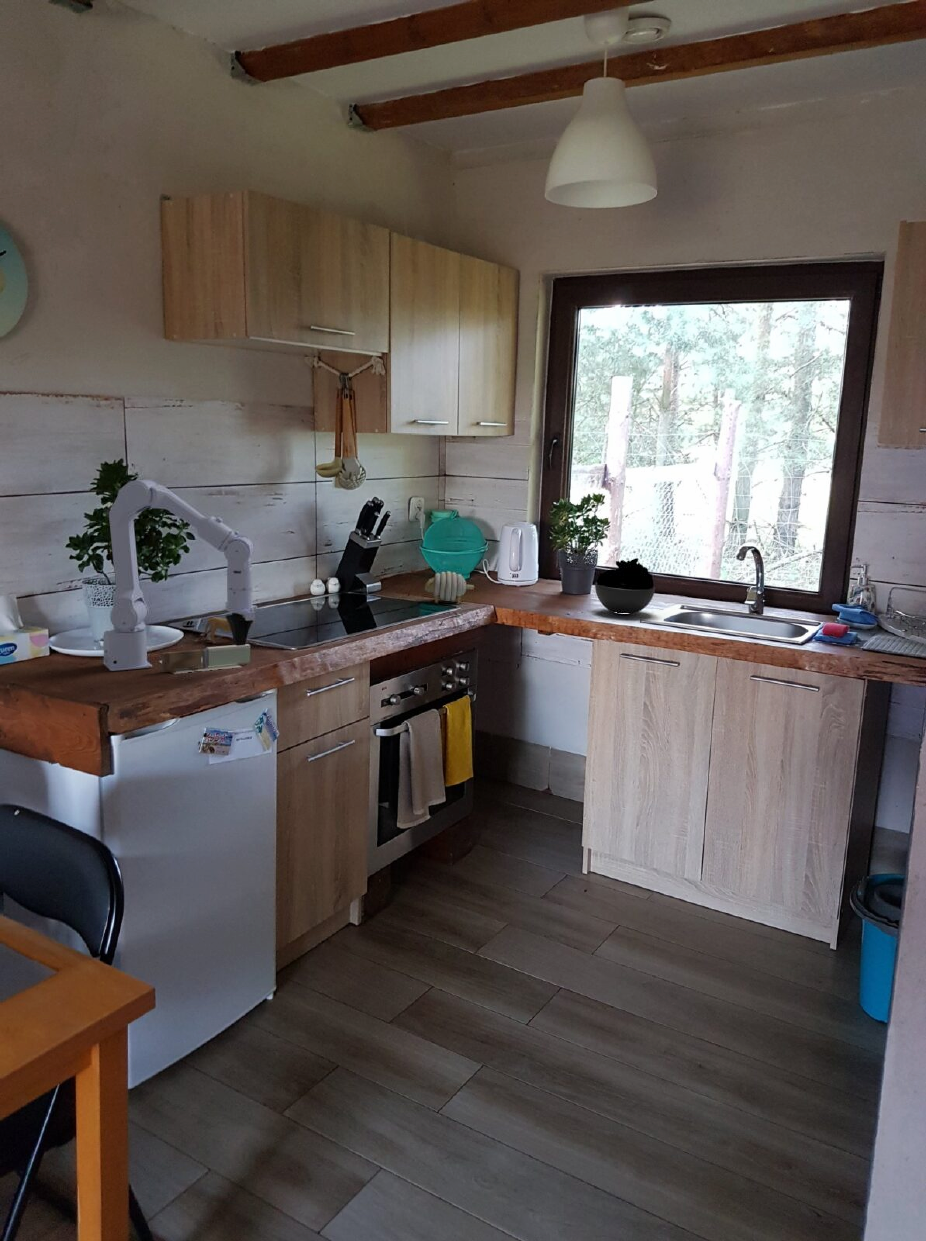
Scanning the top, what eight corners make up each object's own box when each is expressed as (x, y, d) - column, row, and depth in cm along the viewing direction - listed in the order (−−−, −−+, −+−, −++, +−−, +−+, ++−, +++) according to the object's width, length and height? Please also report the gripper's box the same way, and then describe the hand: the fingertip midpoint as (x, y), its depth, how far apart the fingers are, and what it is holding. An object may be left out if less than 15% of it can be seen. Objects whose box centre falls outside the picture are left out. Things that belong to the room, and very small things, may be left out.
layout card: (174, 674, 218) (174, 673, 218) (159, 661, 229) (159, 660, 229) (241, 667, 227) (241, 666, 227) (223, 655, 237) (223, 655, 237)
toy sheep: (422, 599, 330) (424, 568, 328) (470, 600, 332) (472, 569, 330) (425, 605, 320) (427, 573, 318) (475, 606, 322) (476, 574, 320)
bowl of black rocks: (617, 621, 306) (621, 564, 302) (581, 610, 323) (585, 555, 320) (665, 618, 316) (670, 562, 312) (627, 607, 333) (632, 554, 329)
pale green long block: (203, 667, 223) (203, 649, 222) (201, 665, 225) (201, 647, 224) (250, 662, 229) (250, 645, 229) (247, 661, 231) (247, 643, 230)
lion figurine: (255, 641, 255) (255, 608, 254) (251, 645, 250) (251, 612, 248) (200, 639, 255) (200, 606, 253) (195, 643, 249) (195, 610, 248)
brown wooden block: (165, 673, 217) (164, 654, 217) (160, 669, 220) (160, 651, 220) (203, 669, 222) (203, 651, 221) (198, 666, 225) (198, 648, 224)
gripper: (267, 592, 217) (267, 649, 220) (245, 582, 229) (245, 637, 232) (237, 594, 213) (238, 652, 216) (216, 584, 225) (217, 639, 228)
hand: (240, 644), depth 224 cm, fingers closed
